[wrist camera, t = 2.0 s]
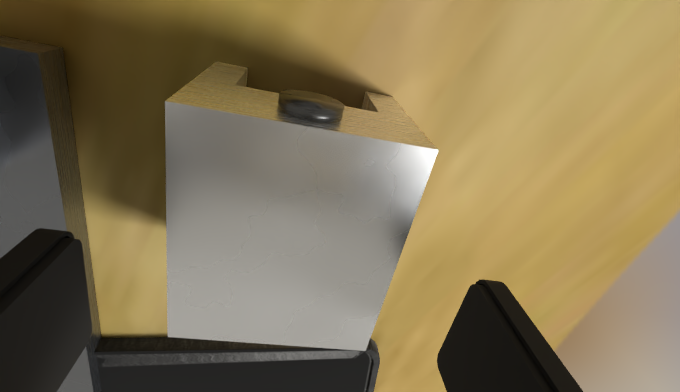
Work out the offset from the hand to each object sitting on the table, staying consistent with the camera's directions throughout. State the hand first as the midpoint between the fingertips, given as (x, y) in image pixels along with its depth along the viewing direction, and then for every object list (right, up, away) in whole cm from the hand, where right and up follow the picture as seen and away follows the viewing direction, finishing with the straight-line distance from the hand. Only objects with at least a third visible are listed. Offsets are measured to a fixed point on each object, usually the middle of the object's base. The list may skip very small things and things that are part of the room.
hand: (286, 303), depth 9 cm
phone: (-4, -7, +11) cm, 14 cm away
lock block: (0, +4, +5) cm, 6 cm away
